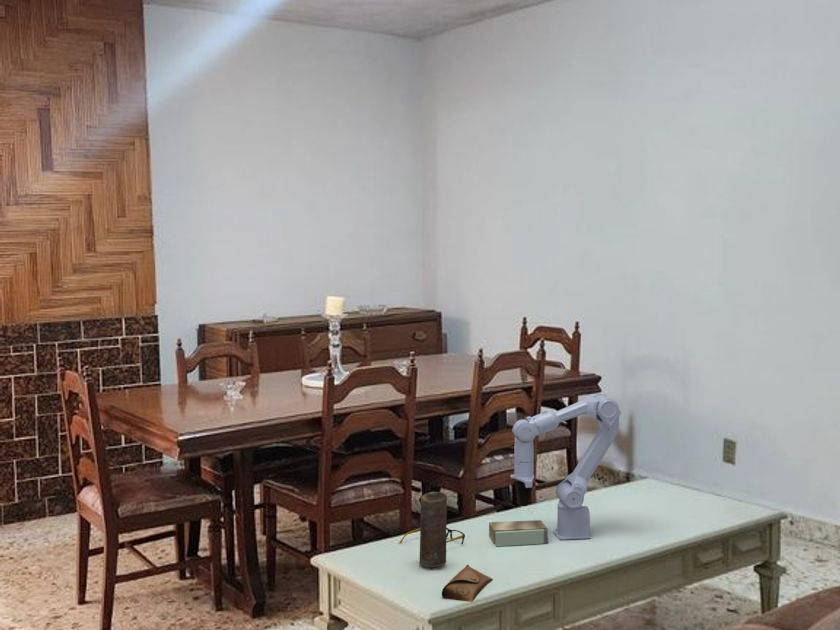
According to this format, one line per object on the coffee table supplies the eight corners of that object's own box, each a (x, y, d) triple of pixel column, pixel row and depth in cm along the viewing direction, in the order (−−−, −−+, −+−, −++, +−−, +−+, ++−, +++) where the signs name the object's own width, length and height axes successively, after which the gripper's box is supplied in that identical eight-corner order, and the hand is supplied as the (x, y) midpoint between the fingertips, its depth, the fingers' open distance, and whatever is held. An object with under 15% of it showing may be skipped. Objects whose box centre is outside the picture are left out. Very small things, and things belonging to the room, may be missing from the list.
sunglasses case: (473, 602, 244) (460, 578, 244) (450, 613, 246) (437, 589, 247) (494, 578, 260) (482, 555, 261) (472, 588, 263) (460, 566, 264)
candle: (452, 566, 270) (452, 494, 268) (433, 572, 265) (433, 500, 263) (432, 559, 276) (432, 489, 274) (414, 565, 271) (413, 494, 269)
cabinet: (541, 533, 298) (541, 520, 298) (547, 542, 290) (547, 528, 290) (489, 535, 296) (489, 522, 296) (494, 544, 288) (494, 530, 288)
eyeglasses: (467, 546, 288) (467, 533, 288) (430, 557, 279) (430, 543, 278) (434, 535, 299) (434, 522, 298) (398, 545, 289) (398, 532, 289)
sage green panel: (547, 542, 289) (547, 528, 289) (548, 543, 288) (548, 529, 288) (495, 545, 287) (495, 531, 286) (496, 546, 286) (496, 532, 286)
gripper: (505, 455, 299) (505, 499, 300) (515, 466, 285) (515, 512, 286) (528, 454, 300) (528, 498, 301) (539, 466, 286) (539, 511, 287)
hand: (523, 505), depth 294 cm, fingers closed
